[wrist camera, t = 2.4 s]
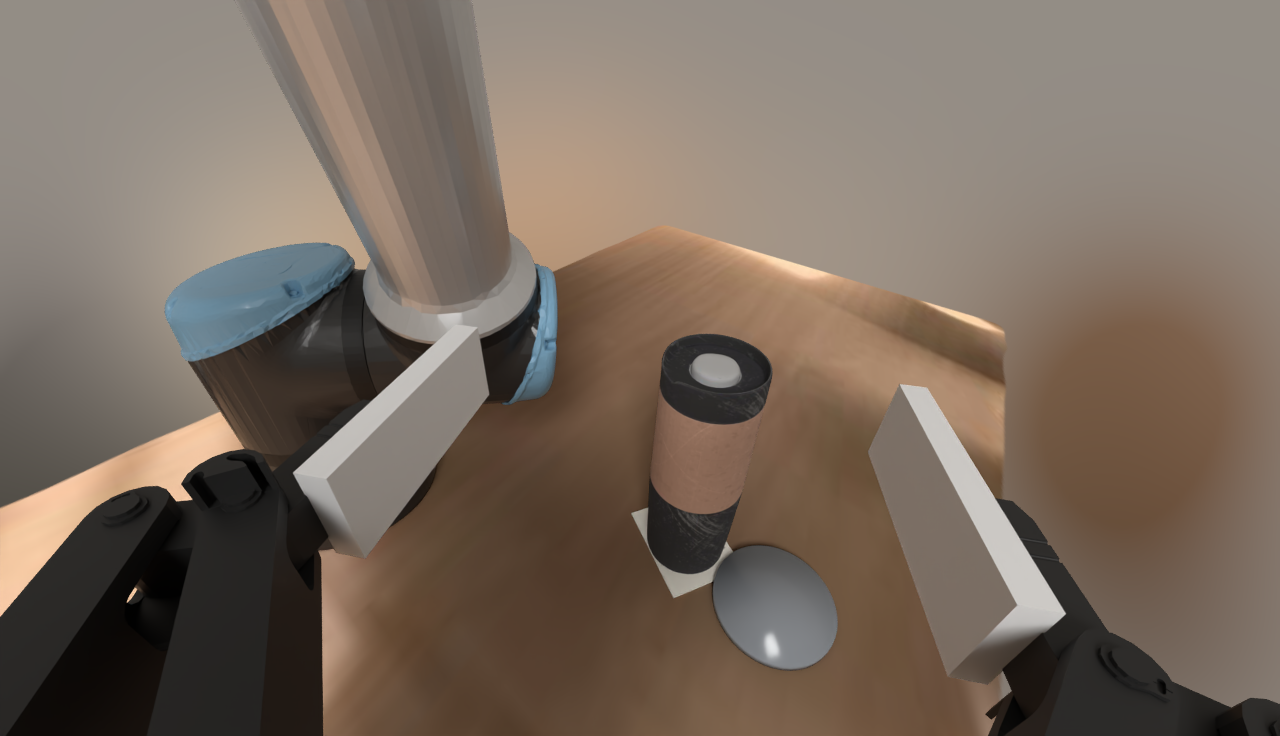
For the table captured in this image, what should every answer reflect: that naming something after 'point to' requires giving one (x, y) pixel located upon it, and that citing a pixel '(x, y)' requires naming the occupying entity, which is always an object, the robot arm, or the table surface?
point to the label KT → (675, 580)
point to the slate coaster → (774, 607)
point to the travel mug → (702, 446)
